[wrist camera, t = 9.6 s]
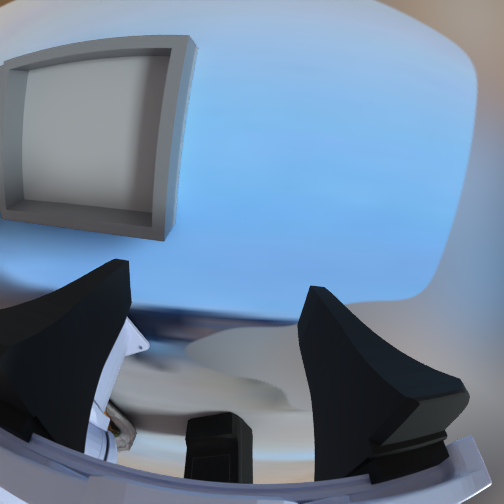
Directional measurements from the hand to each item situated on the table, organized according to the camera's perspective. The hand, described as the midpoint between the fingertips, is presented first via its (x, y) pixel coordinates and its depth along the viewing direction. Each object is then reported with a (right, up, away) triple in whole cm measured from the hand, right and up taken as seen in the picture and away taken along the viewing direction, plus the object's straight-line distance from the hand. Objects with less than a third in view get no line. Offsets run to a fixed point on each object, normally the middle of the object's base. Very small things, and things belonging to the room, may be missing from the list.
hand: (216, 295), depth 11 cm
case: (-10, +10, +5) cm, 15 cm away
